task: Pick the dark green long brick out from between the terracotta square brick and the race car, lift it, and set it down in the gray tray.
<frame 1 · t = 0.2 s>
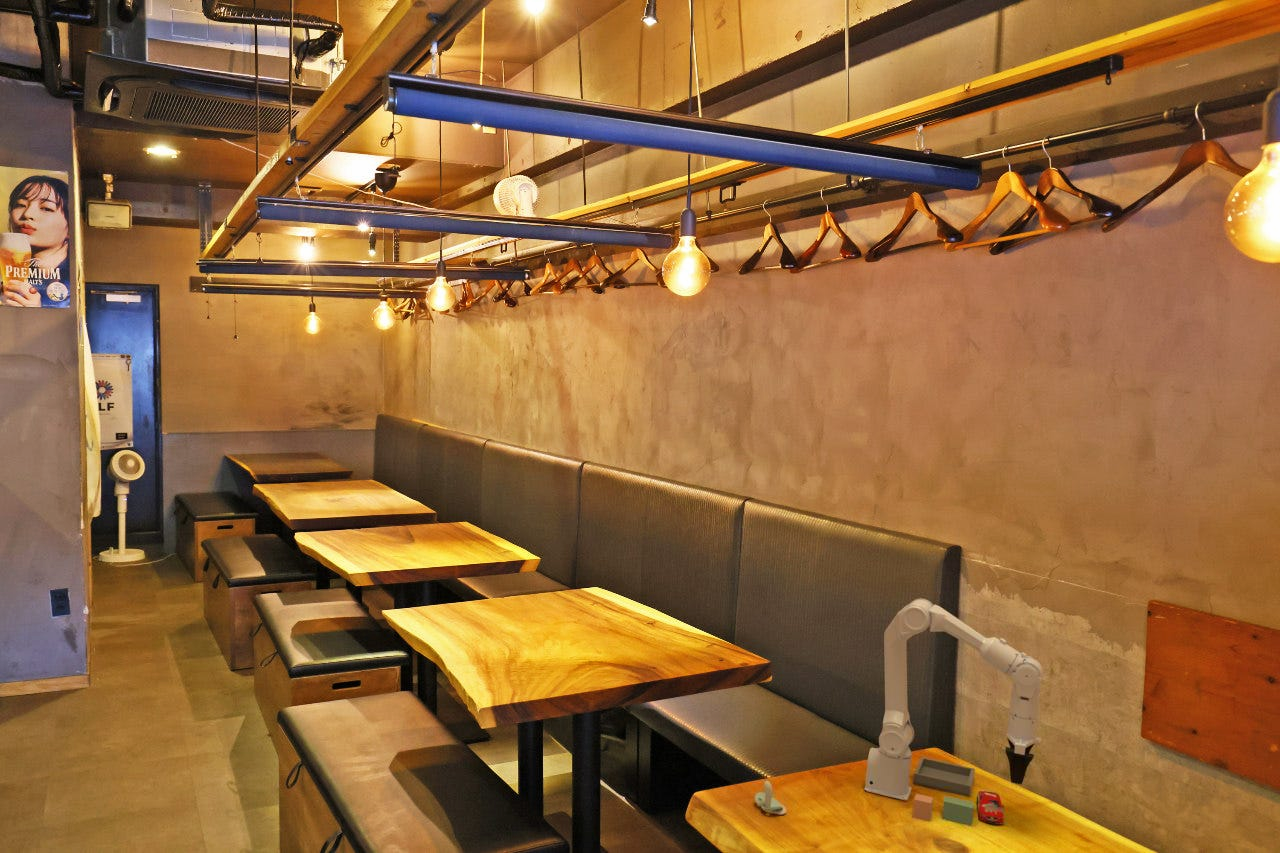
hand: (1017, 777, 206), 10 cm above the table, tool pointing down, fingers open, 7 cm apart
pacifier: (771, 811, 202), on the table
race car: (989, 815, 210), on the table
terracotta square brick: (921, 816, 205), on the table
gray tray: (943, 781, 226), on the table
green long brick: (957, 820, 205), on the table
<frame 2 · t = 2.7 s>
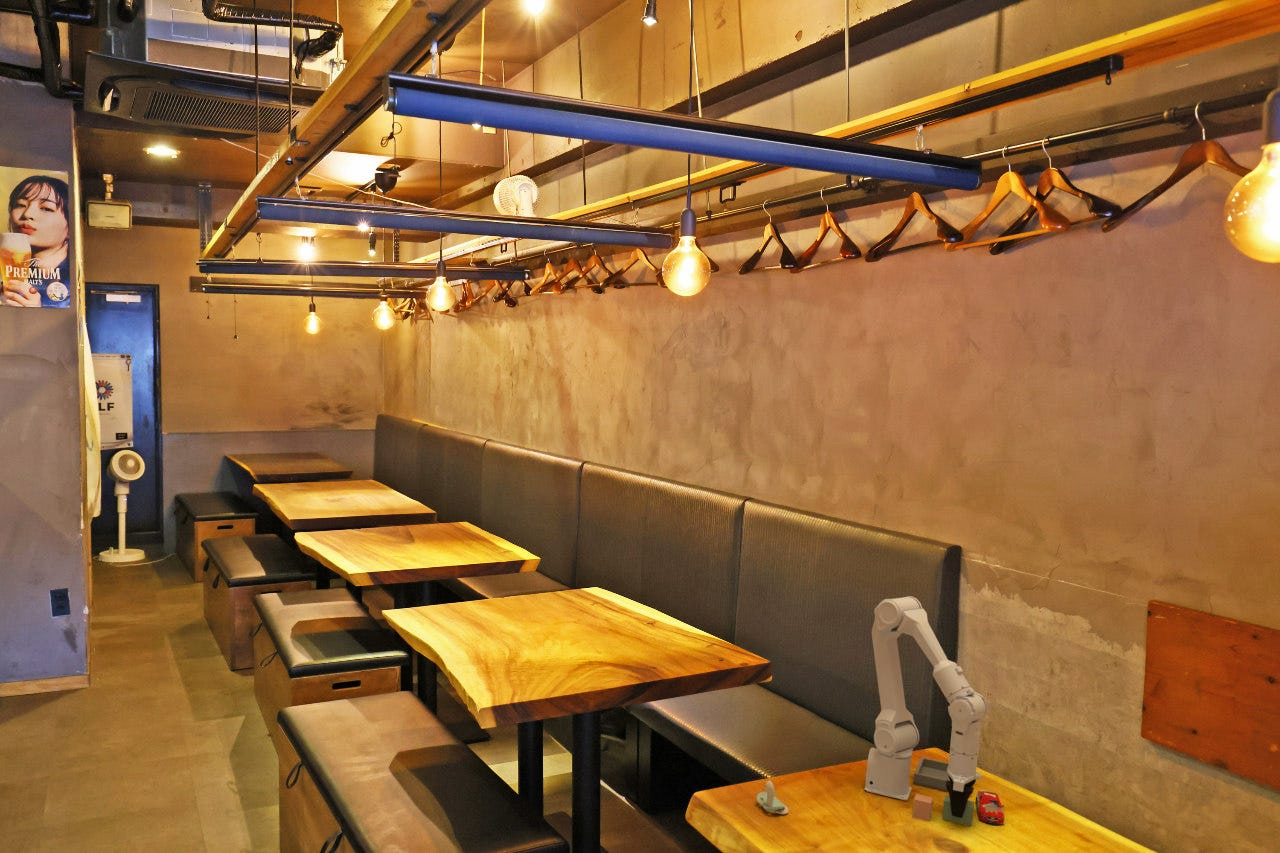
hand: (958, 812, 205), 1 cm above the table, tool pointing down, fingers closed on green long brick, 3 cm apart
green long brick: (957, 819, 205), on the table, touching gripper
everything else where it was.
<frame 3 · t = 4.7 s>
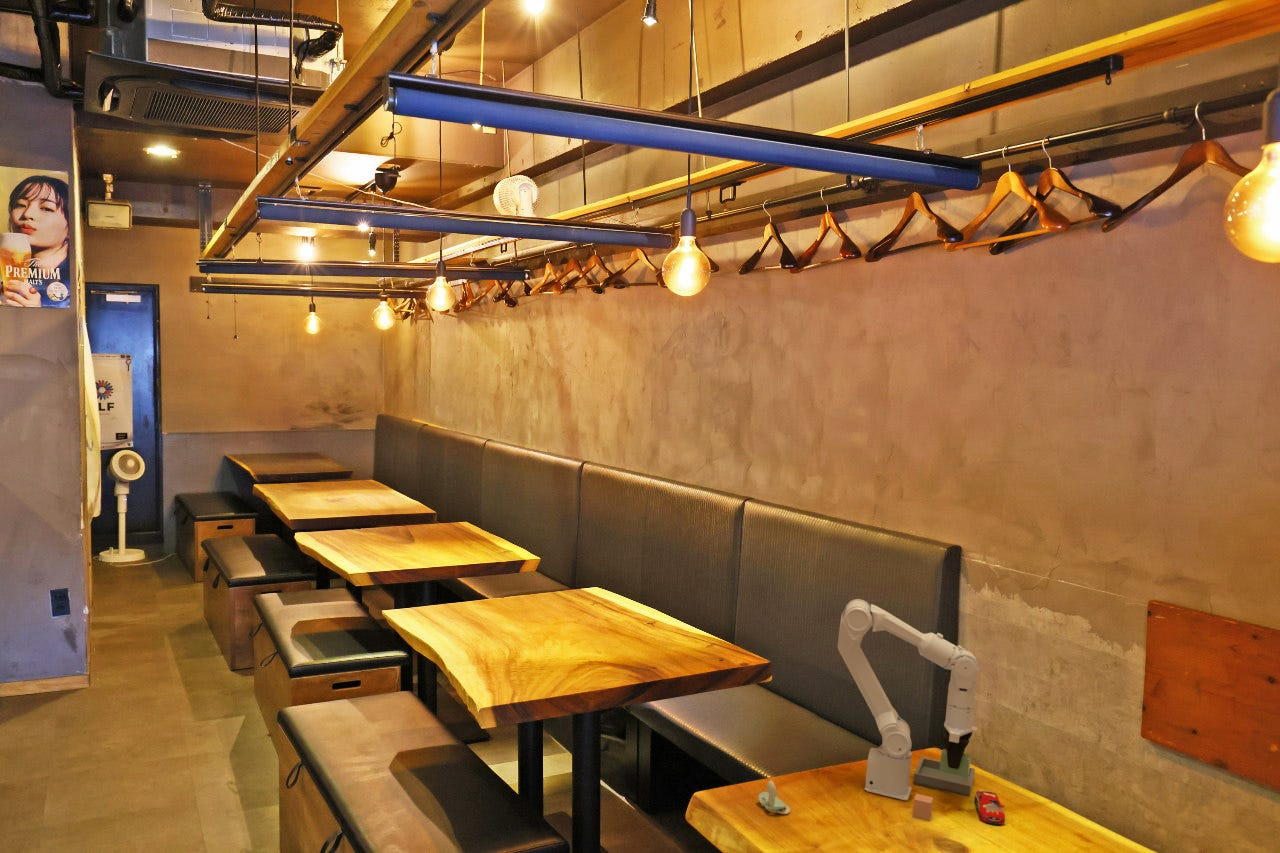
hand: (954, 765, 214), 8 cm above the table, tool pointing down, fingers closed on green long brick, 3 cm apart
green long brick: (954, 772, 214), point 7 cm above the table, touching gripper
everything else where it was.
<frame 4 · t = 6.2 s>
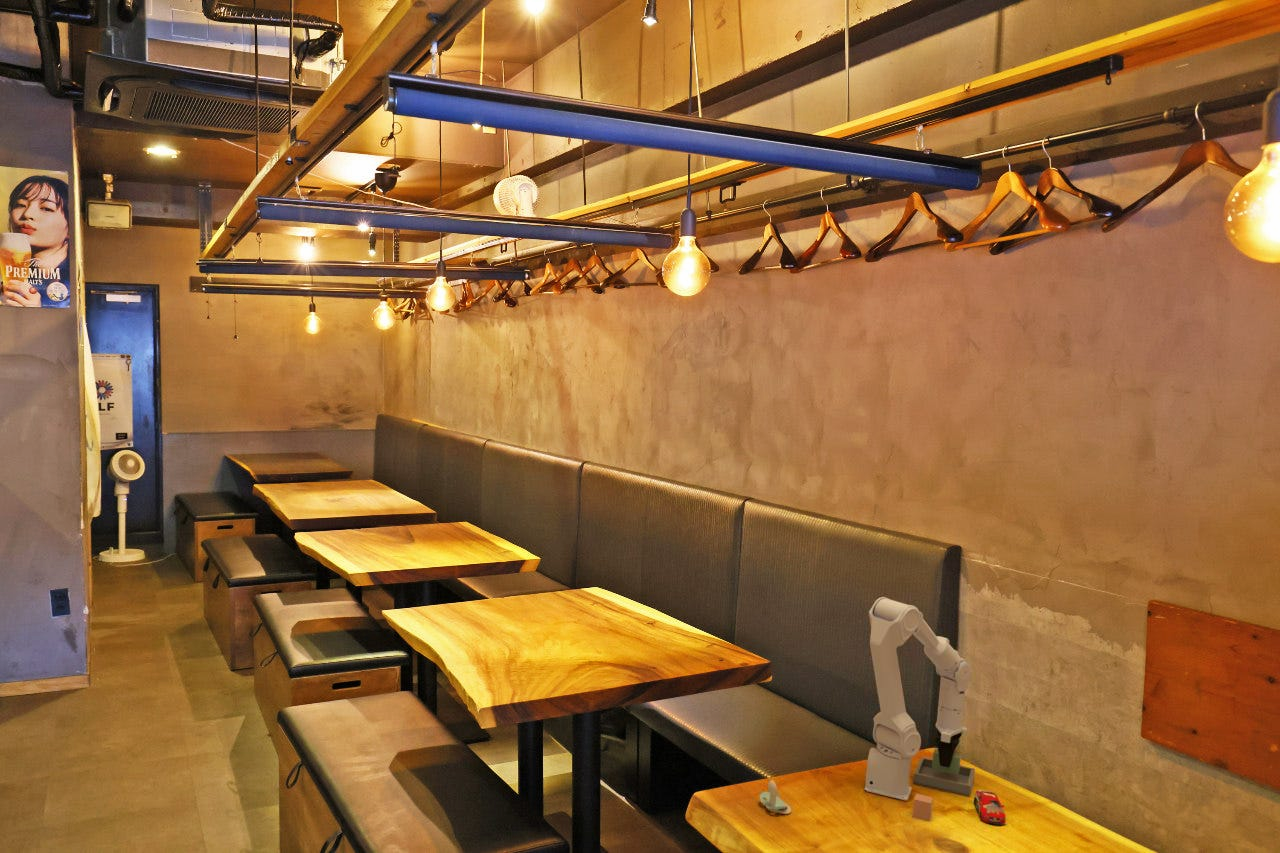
hand: (945, 763, 226), 4 cm above the table, tool pointing down, fingers closed on green long brick, 3 cm apart
green long brick: (945, 770, 226), point 3 cm above the table, touching gripper
when the fingers open (4 cm above the table, at t = 7.1 s): green long brick drops 1 cm, resting on gray tray.
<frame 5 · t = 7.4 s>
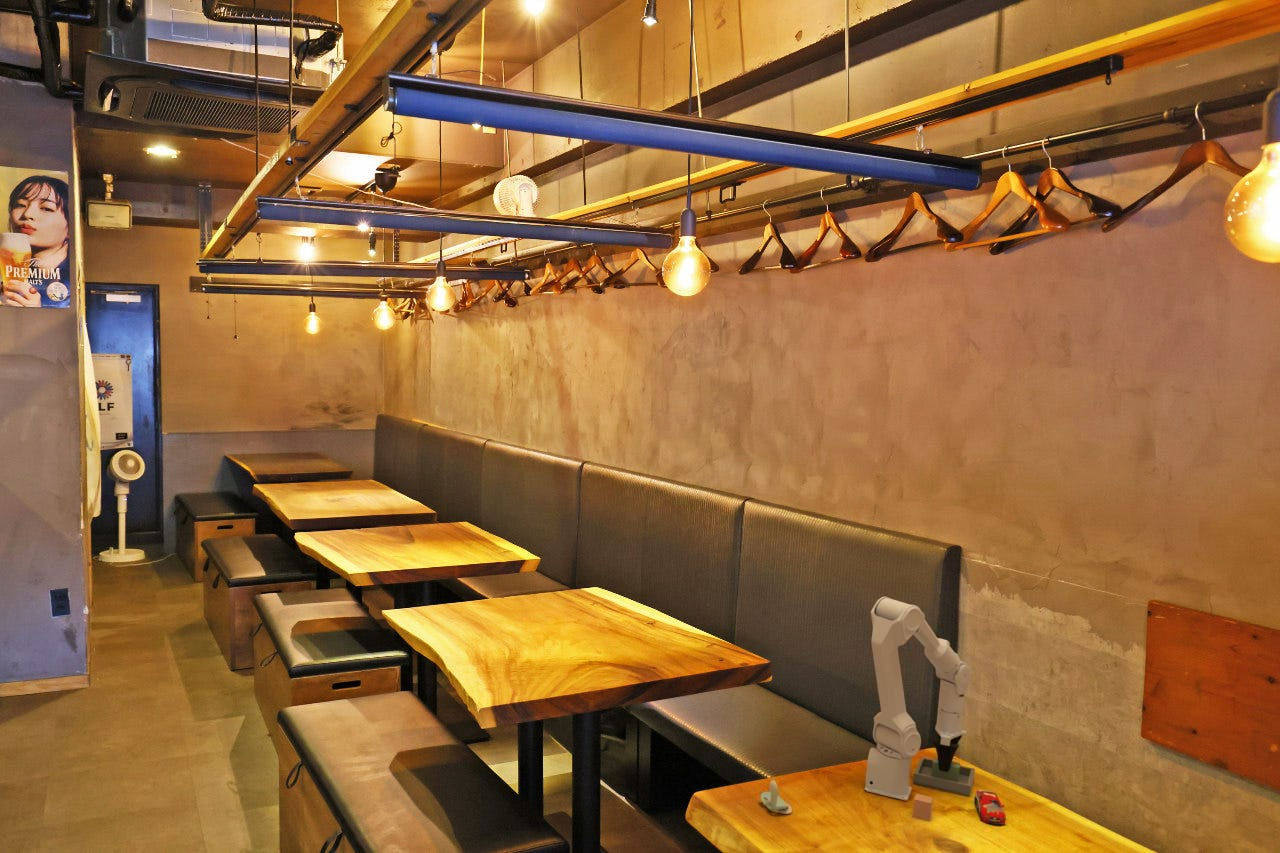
hand: (945, 766, 226), 4 cm above the table, tool pointing down, fingers open, 6 cm apart
green long brick: (944, 779, 226), point 1 cm above the table, touching gray tray
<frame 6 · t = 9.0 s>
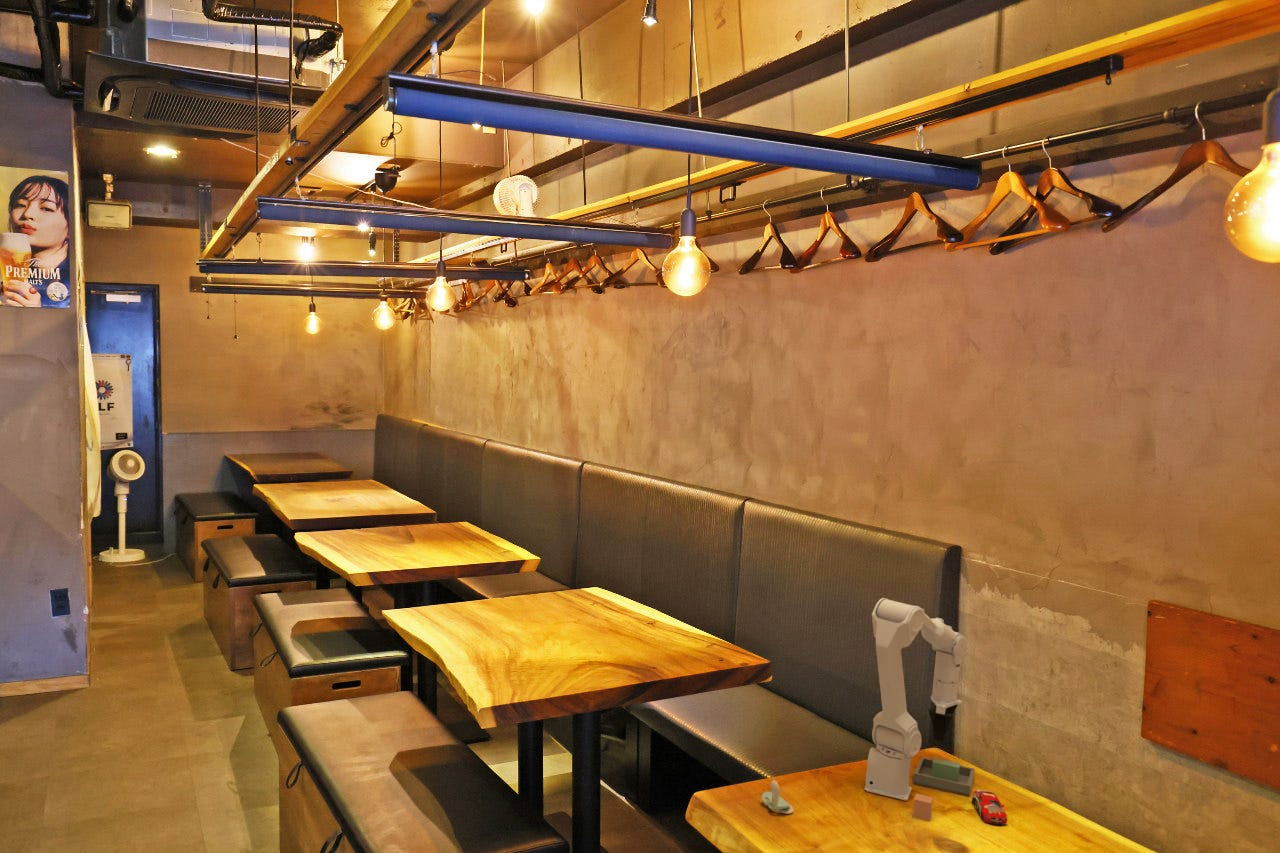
hand: (940, 735, 230), 9 cm above the table, tool pointing down, fingers open, 7 cm apart
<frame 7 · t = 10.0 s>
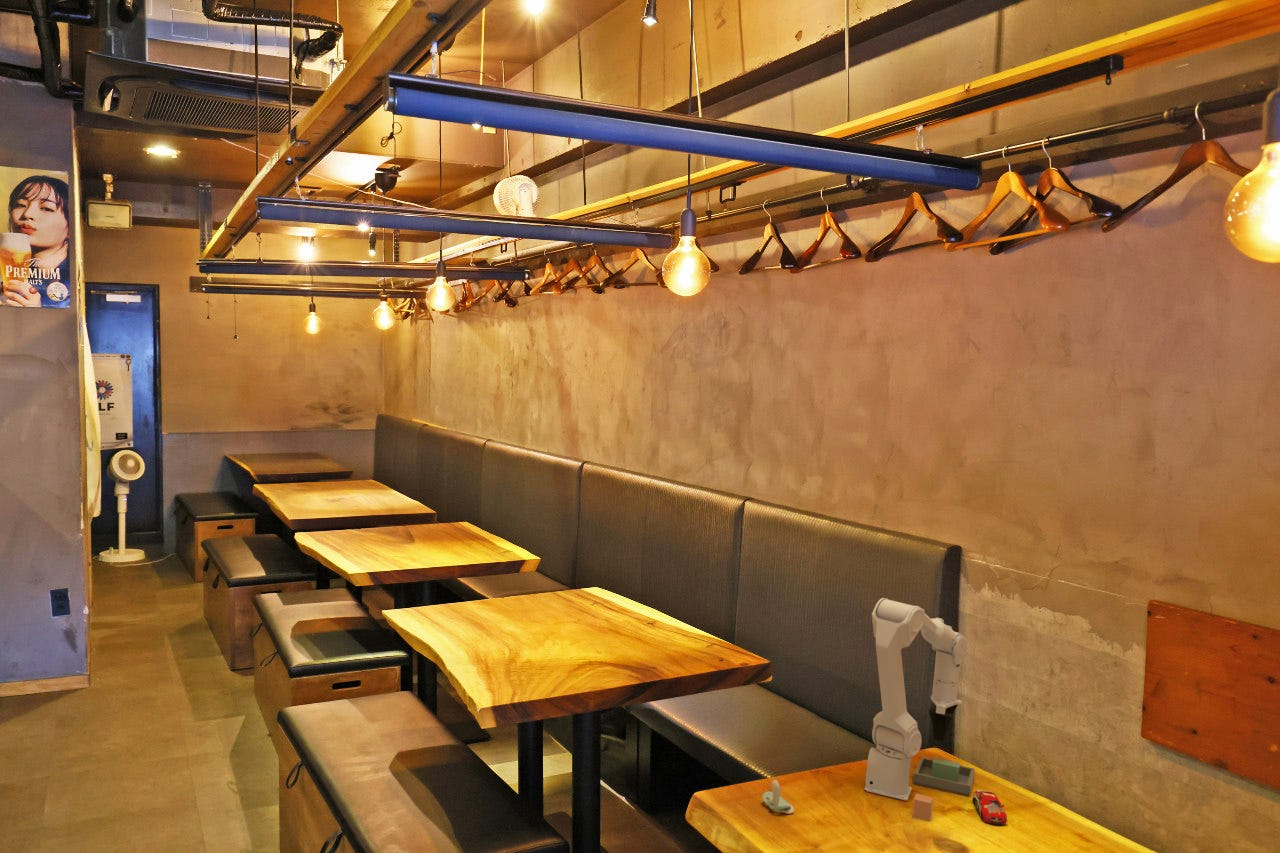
hand: (940, 735, 230), 9 cm above the table, tool pointing down, fingers open, 7 cm apart
at the end: green long brick 0.2 cm off-centre on the gray tray, point 0.6 cm above the gray tray's base; the gripper is holding nothing; race car moved 0.6 cm from its start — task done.
